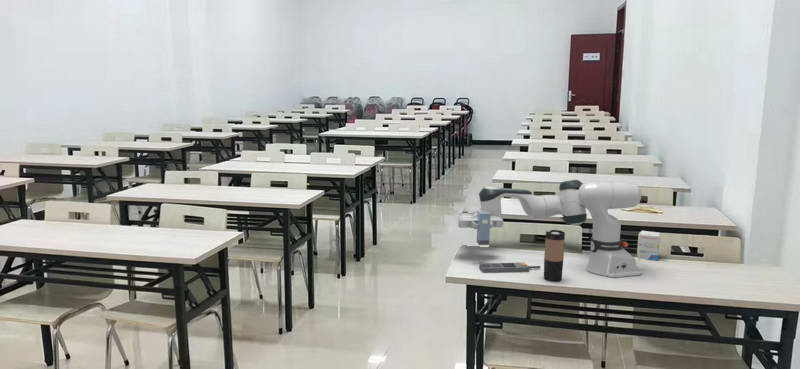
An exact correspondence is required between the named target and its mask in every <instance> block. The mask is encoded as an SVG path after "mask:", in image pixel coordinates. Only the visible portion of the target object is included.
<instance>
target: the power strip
mask: <svg viewBox="0 0 800 369" xmlns="http://www.w3.org/2000/svg"><path fill="white" fill-rule="evenodd" d="M478 266H479V267H478V268H479V269H480V271H481V273H482V274H487V273H489V274H490V273H491V274H492V273H493V274H495V273H498V274H499V273H502V274H503V273H529V271H530V269H541V266H540V265H527V263H526V262H525V261H524V262H523V261H522V262H485V263H483V262H482V263H481V262H480V263H479V265H478Z"/></svg>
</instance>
